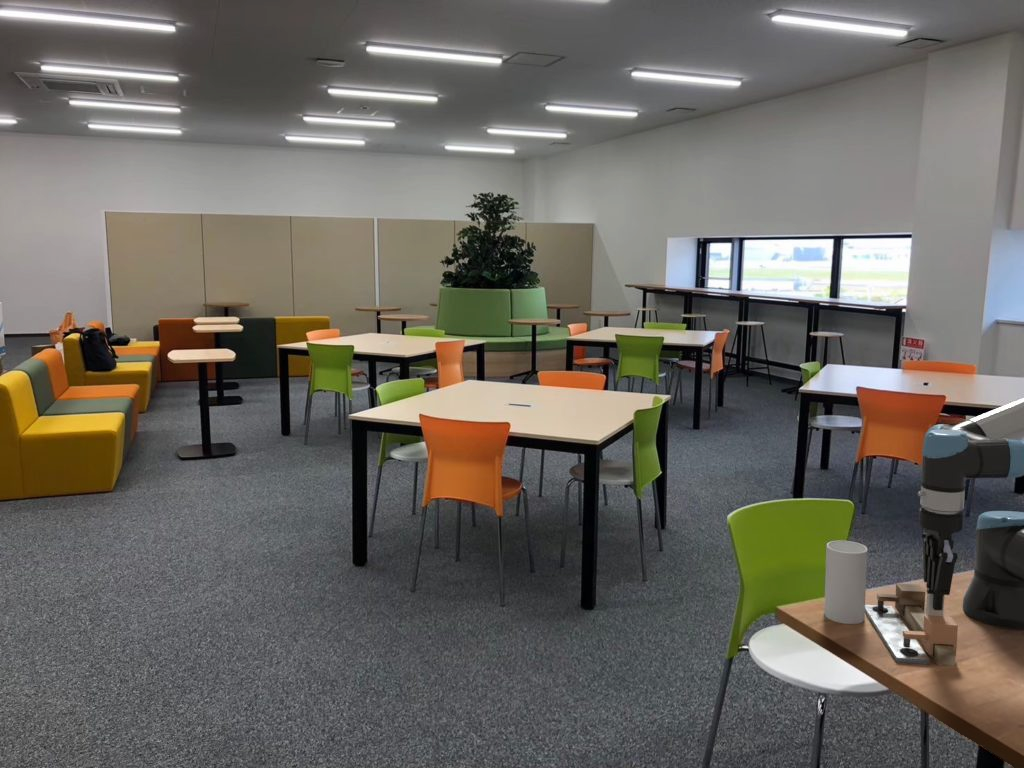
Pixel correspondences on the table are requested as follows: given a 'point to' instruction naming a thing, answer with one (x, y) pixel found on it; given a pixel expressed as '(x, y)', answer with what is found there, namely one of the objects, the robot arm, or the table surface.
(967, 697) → the table surface
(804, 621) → the table surface
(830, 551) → the cup
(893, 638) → the bolt strip
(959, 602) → the table surface
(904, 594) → the fixed leg
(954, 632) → the block
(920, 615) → the beam
